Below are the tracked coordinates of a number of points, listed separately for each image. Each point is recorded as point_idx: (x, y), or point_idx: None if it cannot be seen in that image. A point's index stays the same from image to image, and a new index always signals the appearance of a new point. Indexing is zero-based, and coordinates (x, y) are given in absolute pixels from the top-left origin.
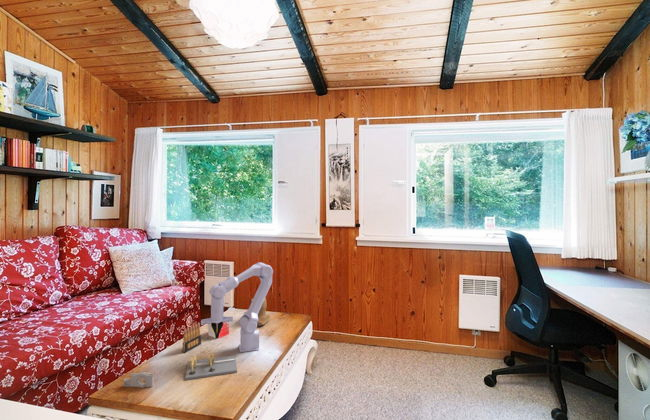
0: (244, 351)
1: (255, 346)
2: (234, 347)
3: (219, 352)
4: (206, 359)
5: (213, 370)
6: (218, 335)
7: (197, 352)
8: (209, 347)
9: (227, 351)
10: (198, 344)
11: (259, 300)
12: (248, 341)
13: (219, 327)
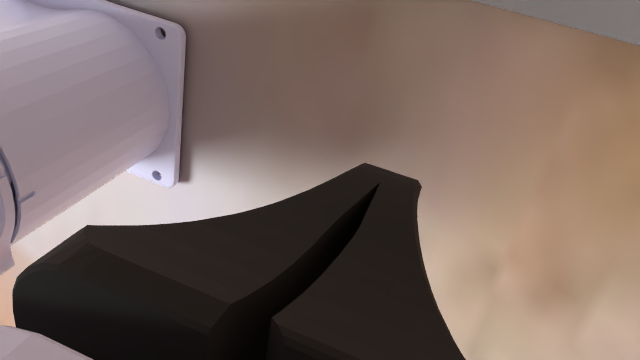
0: (141, 13)
1: (12, 6)
2: (226, 176)
3: (393, 167)
4: (636, 31)
5: None
6: (343, 177)
7: (624, 322)
8: (456, 334)
9: (307, 136)
10: None
11: None
12: (13, 34)
13: (208, 256)
